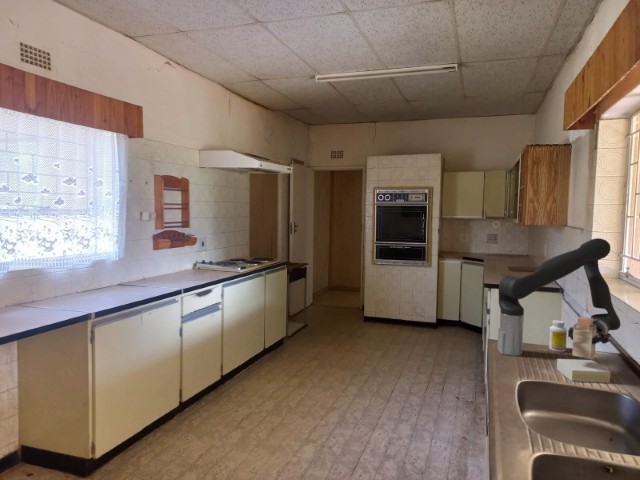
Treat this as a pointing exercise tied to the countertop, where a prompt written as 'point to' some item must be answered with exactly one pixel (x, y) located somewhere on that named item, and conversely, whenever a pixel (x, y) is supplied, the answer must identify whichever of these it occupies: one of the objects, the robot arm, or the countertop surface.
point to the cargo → (585, 322)
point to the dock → (583, 370)
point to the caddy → (583, 341)
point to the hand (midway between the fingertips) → (582, 339)
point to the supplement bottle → (557, 336)
